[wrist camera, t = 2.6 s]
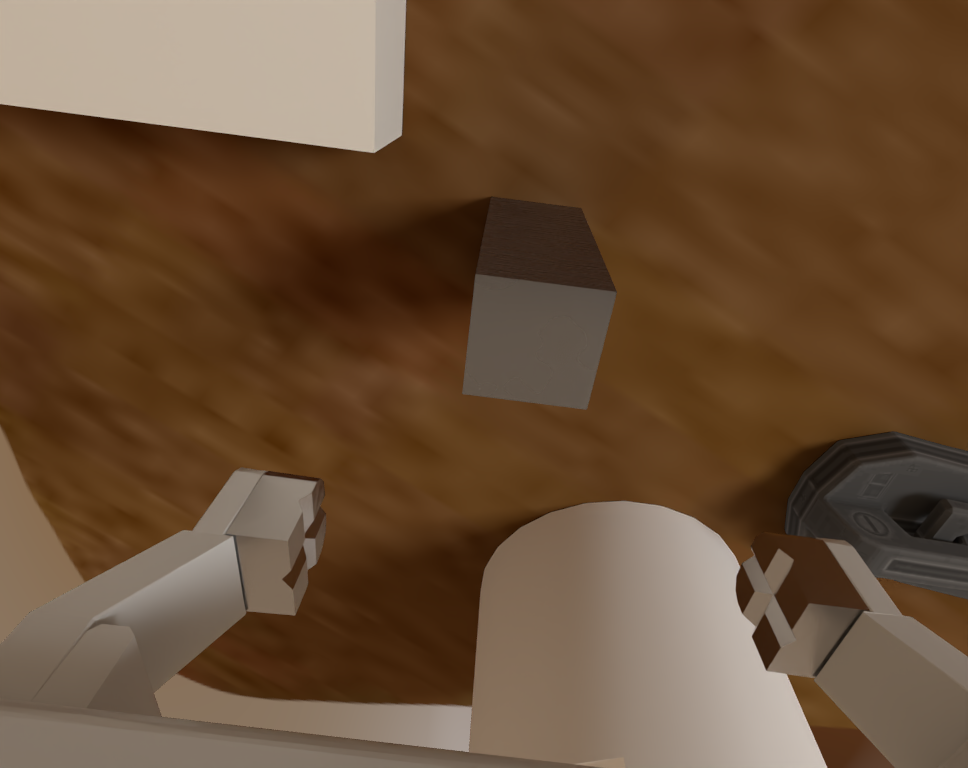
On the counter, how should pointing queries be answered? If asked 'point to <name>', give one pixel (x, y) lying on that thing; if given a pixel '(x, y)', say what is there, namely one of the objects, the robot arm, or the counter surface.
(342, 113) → the well block
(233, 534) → the robot arm
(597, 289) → the metal bar
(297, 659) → the counter surface
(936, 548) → the zipper pull
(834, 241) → the counter surface
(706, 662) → the cylinder
